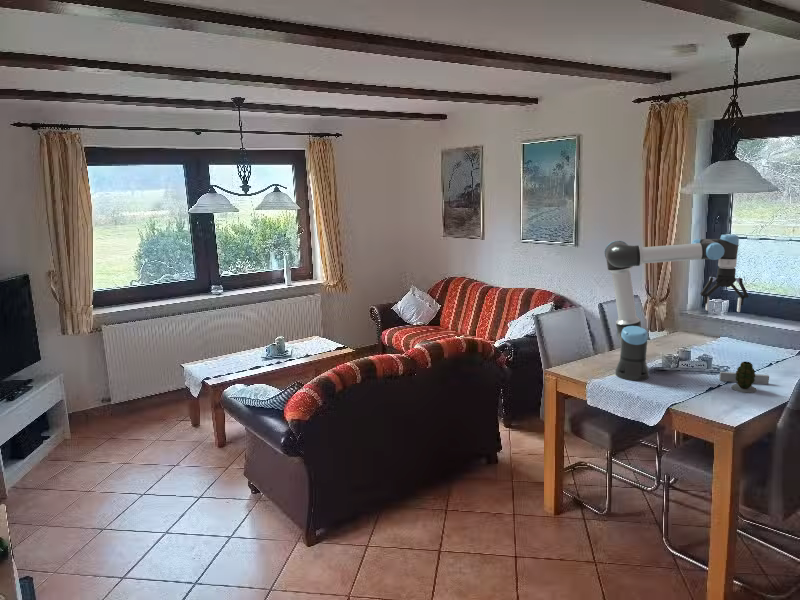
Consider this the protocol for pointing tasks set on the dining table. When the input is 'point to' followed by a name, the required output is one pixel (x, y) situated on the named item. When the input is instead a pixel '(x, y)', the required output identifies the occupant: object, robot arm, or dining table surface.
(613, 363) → the dining table surface
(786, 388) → the dining table surface
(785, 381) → the dining table surface
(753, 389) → the pad
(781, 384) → the dining table surface
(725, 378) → the low wall
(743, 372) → the grenade
